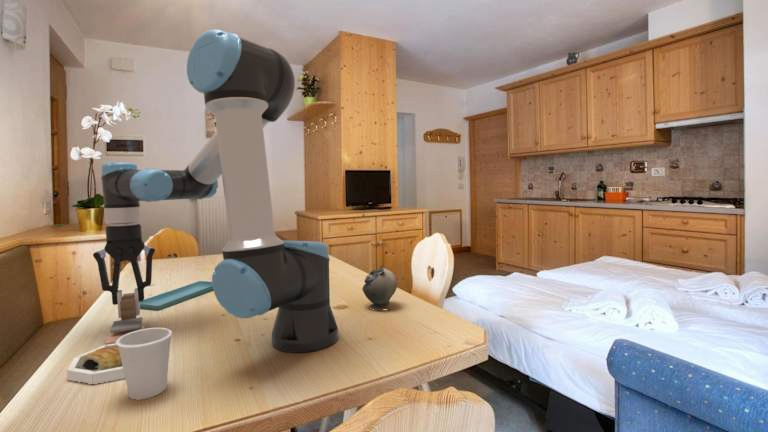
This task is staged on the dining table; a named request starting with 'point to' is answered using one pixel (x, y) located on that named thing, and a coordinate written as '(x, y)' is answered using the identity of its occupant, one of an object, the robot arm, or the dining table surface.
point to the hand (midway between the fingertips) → (129, 314)
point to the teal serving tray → (176, 295)
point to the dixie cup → (145, 361)
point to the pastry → (101, 359)
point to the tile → (118, 335)
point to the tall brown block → (127, 315)
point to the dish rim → (93, 376)
